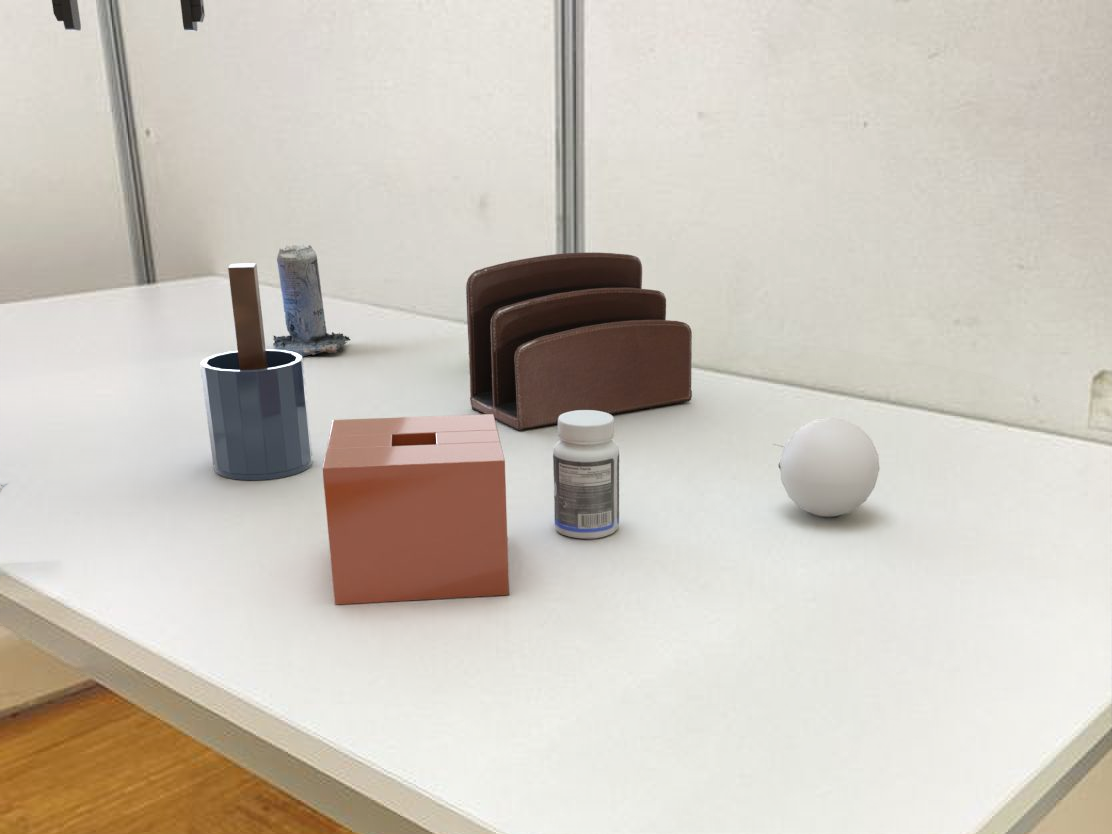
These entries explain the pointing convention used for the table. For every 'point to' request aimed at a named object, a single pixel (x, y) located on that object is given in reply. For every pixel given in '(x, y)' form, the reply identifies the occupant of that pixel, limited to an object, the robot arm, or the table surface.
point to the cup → (257, 416)
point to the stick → (247, 316)
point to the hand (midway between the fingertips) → (132, 30)
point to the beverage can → (303, 304)
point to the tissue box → (416, 508)
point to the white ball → (829, 467)
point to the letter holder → (572, 339)
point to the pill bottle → (586, 475)
